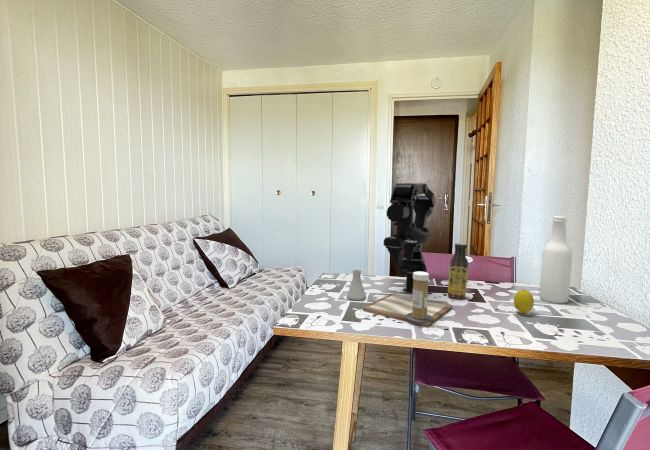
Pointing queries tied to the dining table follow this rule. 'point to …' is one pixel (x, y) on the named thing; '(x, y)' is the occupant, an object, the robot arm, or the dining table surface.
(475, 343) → the dining table surface
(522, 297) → the lemon
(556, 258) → the alcohol
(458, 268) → the sauce bottle
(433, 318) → the beige tray
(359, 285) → the flask
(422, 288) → the sprinkles bottle
